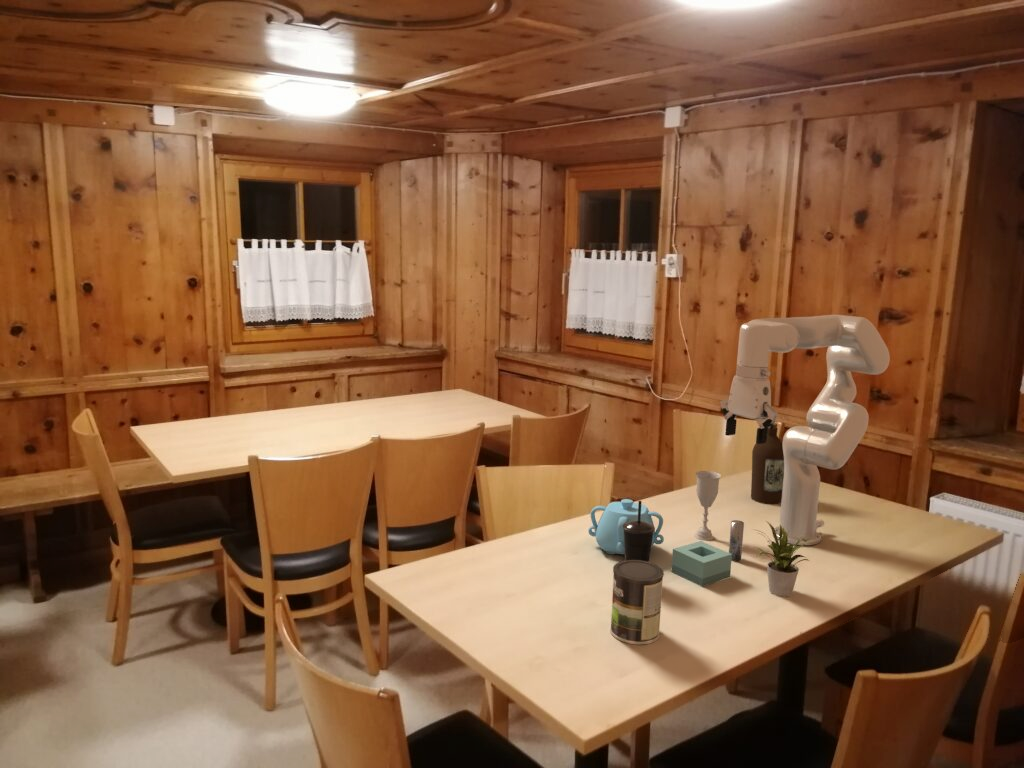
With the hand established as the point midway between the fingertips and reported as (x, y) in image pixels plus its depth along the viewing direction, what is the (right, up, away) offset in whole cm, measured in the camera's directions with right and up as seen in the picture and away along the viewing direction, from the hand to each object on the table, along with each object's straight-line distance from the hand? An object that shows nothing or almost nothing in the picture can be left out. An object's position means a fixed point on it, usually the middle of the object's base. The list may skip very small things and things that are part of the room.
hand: (745, 439), depth 199 cm
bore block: (-13, -33, -6) cm, 36 cm away
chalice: (-6, -29, +19) cm, 35 cm away
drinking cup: (-29, -34, -10) cm, 46 cm away
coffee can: (-34, -38, -35) cm, 62 cm away
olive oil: (+22, -23, +52) cm, 62 cm away
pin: (-1, -31, +4) cm, 32 cm away
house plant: (+3, -35, -13) cm, 38 cm away
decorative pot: (-29, -30, +10) cm, 43 cm away
